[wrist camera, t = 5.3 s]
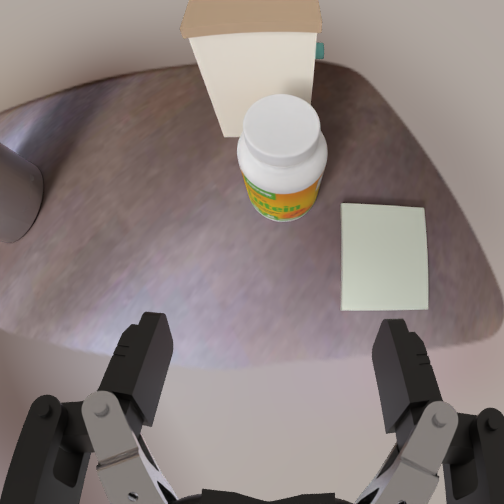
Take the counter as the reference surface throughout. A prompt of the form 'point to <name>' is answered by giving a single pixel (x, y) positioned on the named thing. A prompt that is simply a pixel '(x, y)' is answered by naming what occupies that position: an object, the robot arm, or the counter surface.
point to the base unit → (253, 52)
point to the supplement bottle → (282, 156)
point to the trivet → (383, 257)
